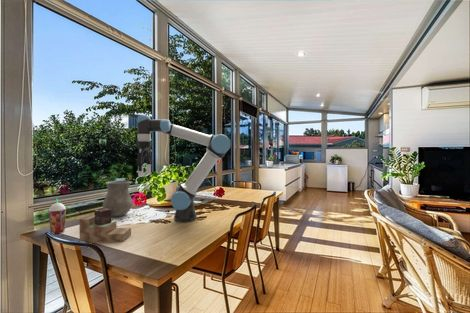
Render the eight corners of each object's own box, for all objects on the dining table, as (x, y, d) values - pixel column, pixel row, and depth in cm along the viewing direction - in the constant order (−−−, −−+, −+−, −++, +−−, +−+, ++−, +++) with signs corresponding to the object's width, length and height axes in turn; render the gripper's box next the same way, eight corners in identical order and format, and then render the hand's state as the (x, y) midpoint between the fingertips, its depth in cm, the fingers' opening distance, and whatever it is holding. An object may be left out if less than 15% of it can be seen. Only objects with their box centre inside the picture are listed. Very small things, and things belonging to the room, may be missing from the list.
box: (111, 222, 127) (111, 209, 127) (100, 225, 122) (100, 211, 122) (105, 221, 130) (105, 207, 130) (94, 223, 125) (94, 210, 125)
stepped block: (131, 234, 132) (130, 213, 131) (122, 241, 121) (122, 218, 121) (91, 235, 131) (90, 214, 131) (79, 242, 121) (78, 219, 120)
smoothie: (70, 230, 140) (69, 197, 139) (55, 235, 132) (54, 200, 132) (60, 229, 143) (59, 196, 142) (45, 233, 135) (44, 199, 134)
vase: (124, 211, 185) (123, 179, 185) (138, 214, 174) (137, 181, 174) (97, 217, 169) (96, 182, 169) (111, 221, 158) (110, 184, 158)
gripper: (145, 142, 158) (145, 173, 158) (129, 140, 133) (130, 177, 133) (156, 142, 158) (157, 173, 159) (143, 140, 133) (143, 177, 134)
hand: (144, 175), depth 146 cm, fingers open, 13 cm apart
